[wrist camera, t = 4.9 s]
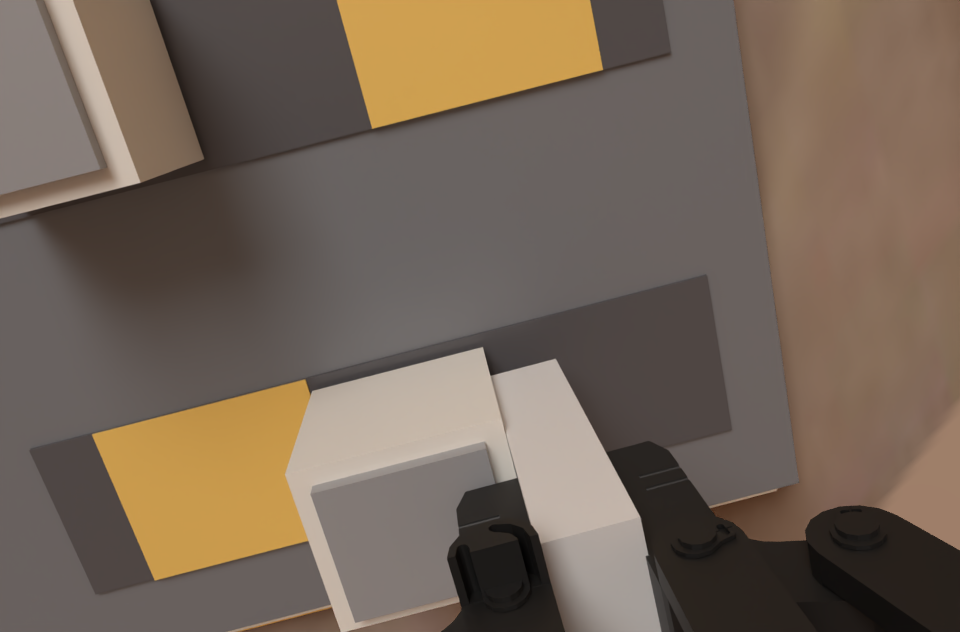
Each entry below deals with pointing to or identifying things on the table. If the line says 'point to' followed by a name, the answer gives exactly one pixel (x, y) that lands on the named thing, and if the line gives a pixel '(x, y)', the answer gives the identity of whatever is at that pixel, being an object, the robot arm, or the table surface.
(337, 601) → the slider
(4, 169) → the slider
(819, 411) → the table surface
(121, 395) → the switch board
